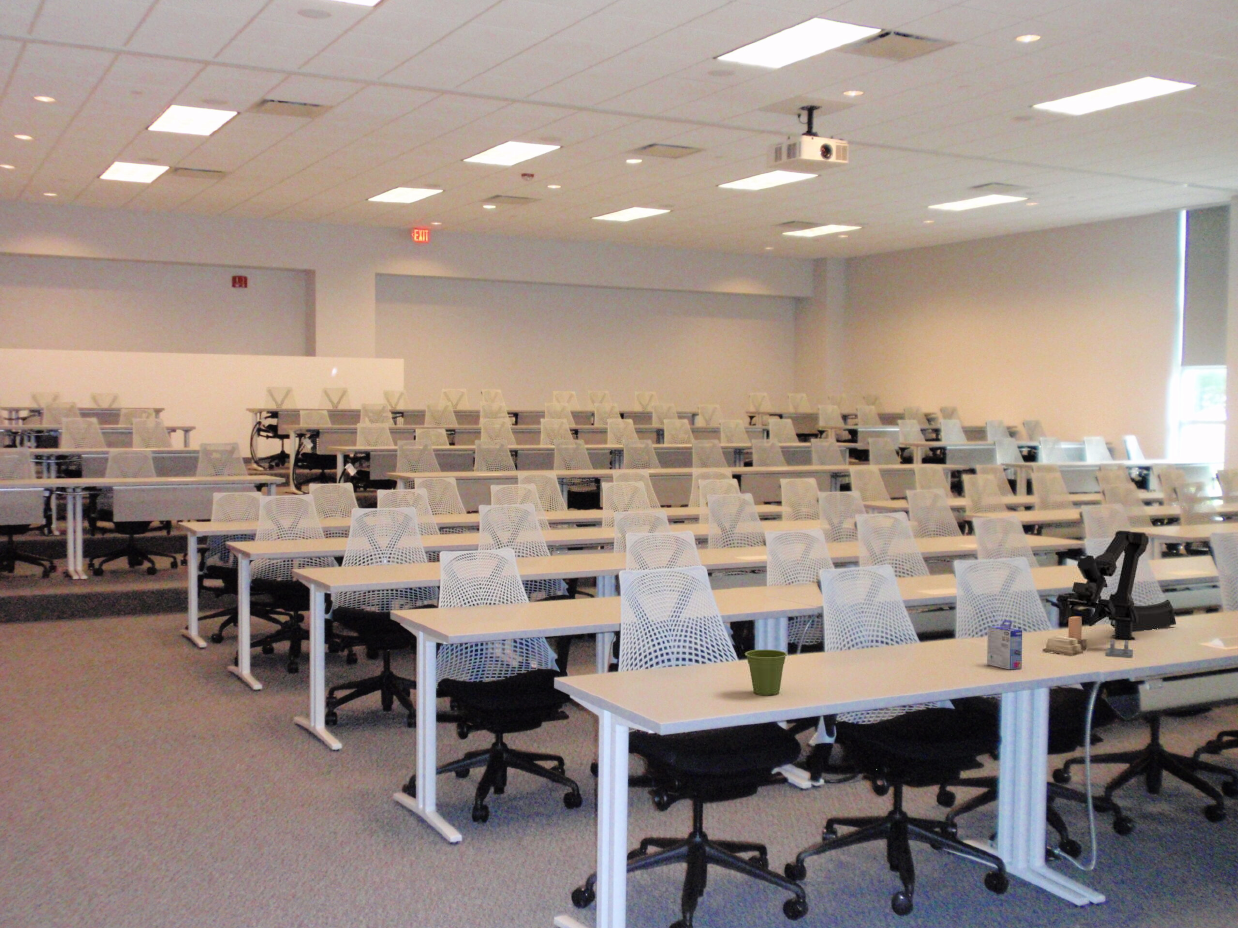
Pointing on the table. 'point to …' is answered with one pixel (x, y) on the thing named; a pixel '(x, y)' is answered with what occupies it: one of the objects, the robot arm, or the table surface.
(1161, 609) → the magazine
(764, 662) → the plant pot
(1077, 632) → the tall peach slab
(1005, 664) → the ink cartridge box
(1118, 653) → the holder
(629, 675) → the table surface
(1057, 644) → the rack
